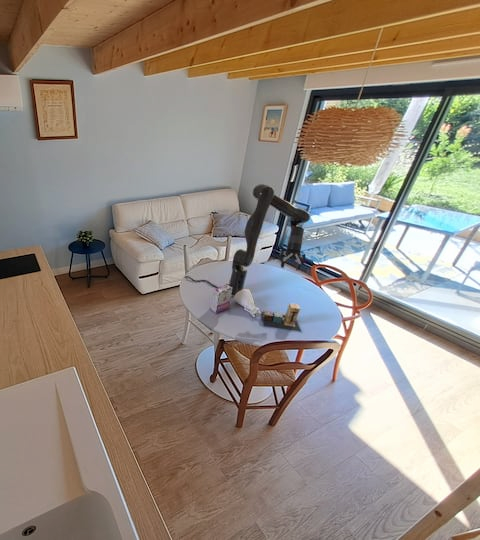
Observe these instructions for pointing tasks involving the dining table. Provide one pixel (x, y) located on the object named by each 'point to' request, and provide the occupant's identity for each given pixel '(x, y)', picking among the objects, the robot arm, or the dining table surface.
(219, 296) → the candy bar box
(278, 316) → the letter block
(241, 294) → the rocket engine
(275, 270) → the dining table surface
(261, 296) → the dining table surface
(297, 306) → the tan rectangular block
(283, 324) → the word mat
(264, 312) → the letter block
